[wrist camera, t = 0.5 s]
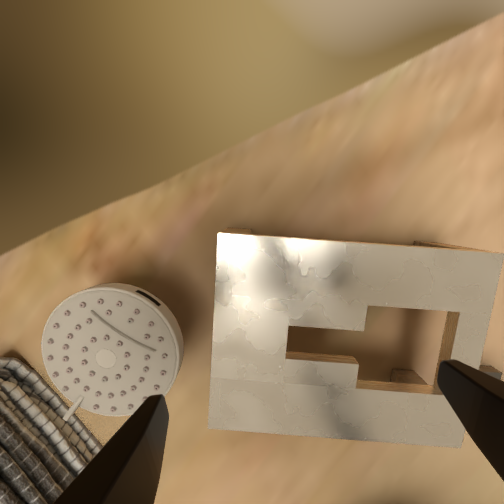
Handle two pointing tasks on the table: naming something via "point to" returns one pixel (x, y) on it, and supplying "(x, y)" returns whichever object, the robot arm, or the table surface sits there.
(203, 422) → the table surface
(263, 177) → the table surface
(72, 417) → the towel
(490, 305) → the keyhole stand
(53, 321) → the showerhead
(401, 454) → the table surface
